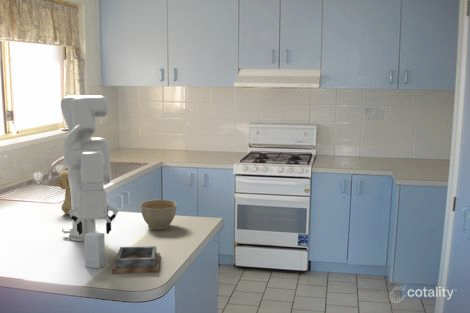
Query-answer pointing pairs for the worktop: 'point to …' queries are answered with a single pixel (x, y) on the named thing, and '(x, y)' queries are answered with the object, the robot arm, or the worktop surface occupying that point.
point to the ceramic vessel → (65, 185)
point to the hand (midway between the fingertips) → (94, 233)
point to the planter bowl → (158, 213)
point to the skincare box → (94, 249)
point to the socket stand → (136, 260)
